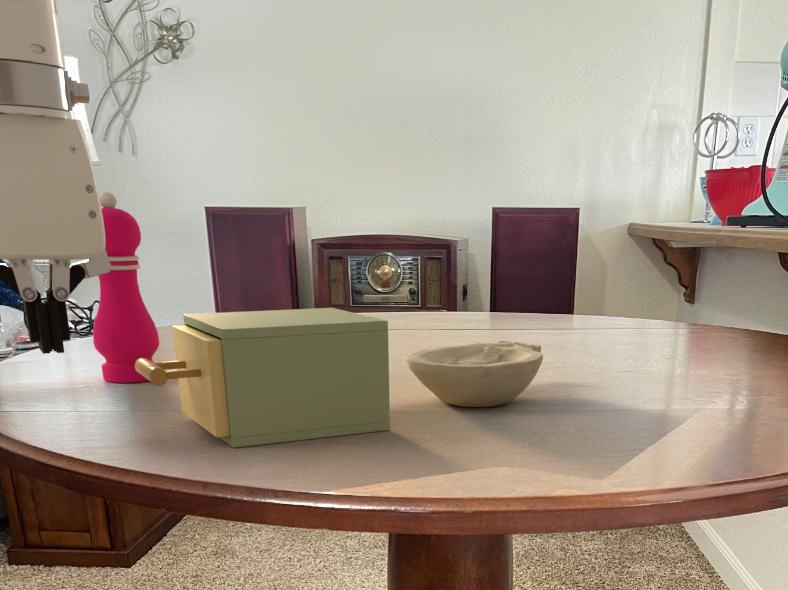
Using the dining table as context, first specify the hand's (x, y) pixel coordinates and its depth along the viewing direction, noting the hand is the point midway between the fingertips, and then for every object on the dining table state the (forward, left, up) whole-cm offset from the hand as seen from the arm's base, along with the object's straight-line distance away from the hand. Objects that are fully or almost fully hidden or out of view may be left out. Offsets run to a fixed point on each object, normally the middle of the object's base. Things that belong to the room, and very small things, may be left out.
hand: (51, 350), depth 73 cm
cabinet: (+19, -2, -8) cm, 21 cm away
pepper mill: (+11, +30, -8) cm, 33 cm away
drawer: (+15, -2, -7) cm, 17 cm away
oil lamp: (+43, +2, -8) cm, 44 cm away
